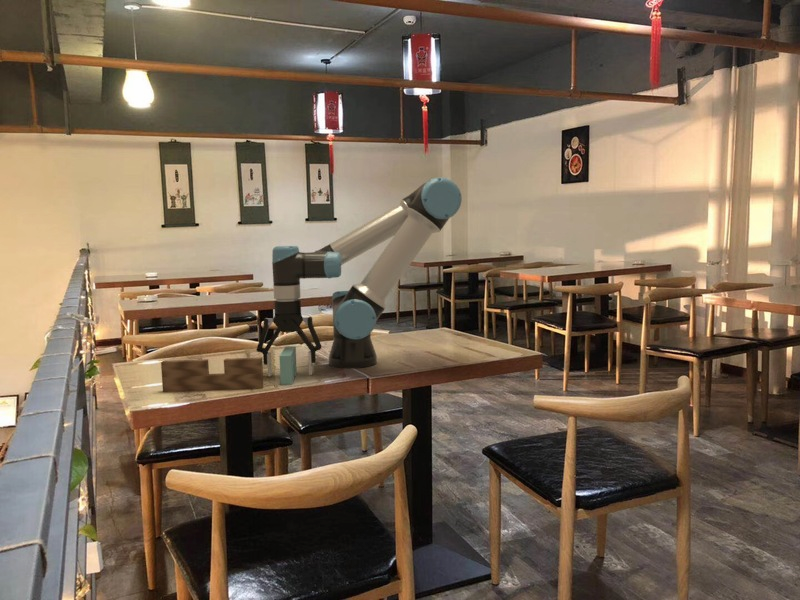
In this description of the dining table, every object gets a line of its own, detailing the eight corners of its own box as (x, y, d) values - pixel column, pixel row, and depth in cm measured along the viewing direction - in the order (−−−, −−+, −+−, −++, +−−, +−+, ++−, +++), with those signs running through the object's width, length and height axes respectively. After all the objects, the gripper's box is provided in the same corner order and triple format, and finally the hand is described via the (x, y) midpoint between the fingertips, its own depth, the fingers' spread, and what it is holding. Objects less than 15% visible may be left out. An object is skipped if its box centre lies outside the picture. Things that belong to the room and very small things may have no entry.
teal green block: (296, 373, 183) (295, 346, 182) (291, 384, 169) (290, 355, 169) (286, 373, 183) (285, 346, 182) (280, 385, 169) (279, 356, 168)
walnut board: (263, 386, 168) (262, 357, 167) (262, 388, 166) (261, 358, 165) (165, 390, 166) (163, 360, 165) (162, 392, 164) (160, 362, 163)
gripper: (329, 297, 183) (331, 370, 185) (248, 299, 181) (251, 373, 183) (327, 300, 175) (330, 376, 178) (243, 302, 174) (247, 379, 176)
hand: (290, 374), depth 181 cm, fingers open, 11 cm apart
